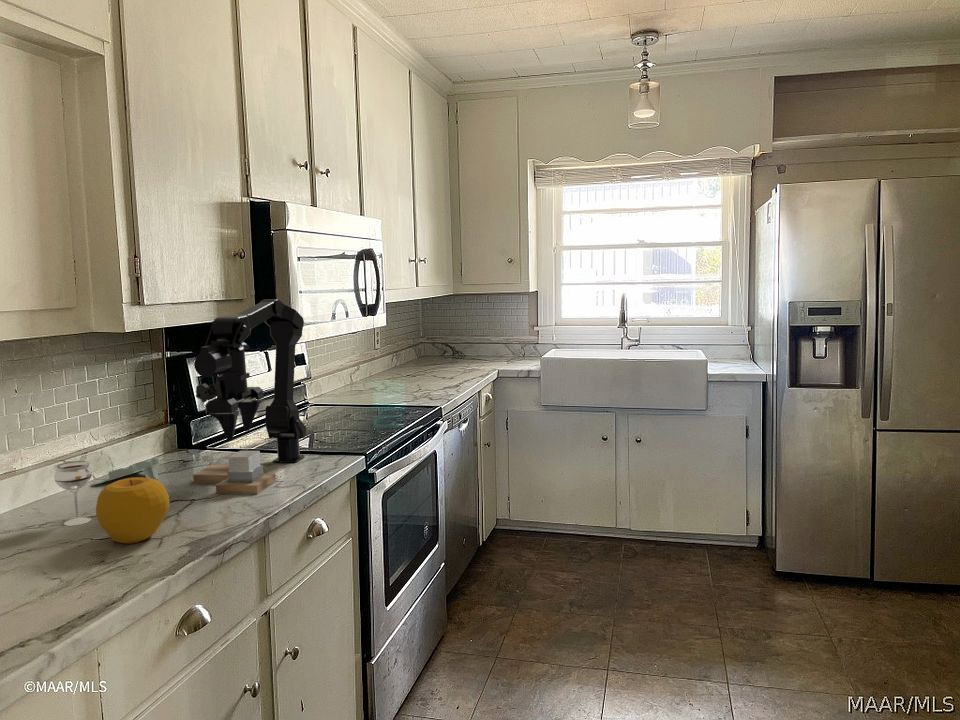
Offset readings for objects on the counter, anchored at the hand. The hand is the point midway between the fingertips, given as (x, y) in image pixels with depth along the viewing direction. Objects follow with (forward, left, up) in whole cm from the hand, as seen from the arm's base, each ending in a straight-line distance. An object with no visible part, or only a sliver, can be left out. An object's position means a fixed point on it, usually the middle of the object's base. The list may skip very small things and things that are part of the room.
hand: (238, 435), depth 178 cm
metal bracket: (-2, -30, -12) cm, 32 cm away
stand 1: (-4, -7, -12) cm, 14 cm away
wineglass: (+29, -22, -12) cm, 38 cm away
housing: (+3, +3, -10) cm, 11 cm away
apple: (+37, -4, -12) cm, 39 cm away
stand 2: (+4, +3, -12) cm, 13 cm away
